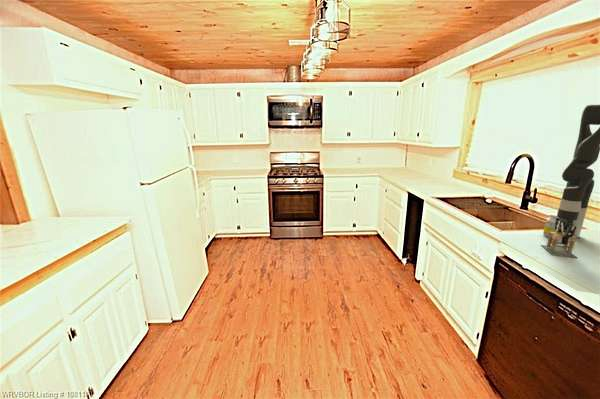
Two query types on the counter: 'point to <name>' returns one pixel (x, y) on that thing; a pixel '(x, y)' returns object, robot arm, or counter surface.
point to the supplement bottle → (550, 225)
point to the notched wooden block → (558, 236)
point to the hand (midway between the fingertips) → (560, 241)
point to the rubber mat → (559, 251)
